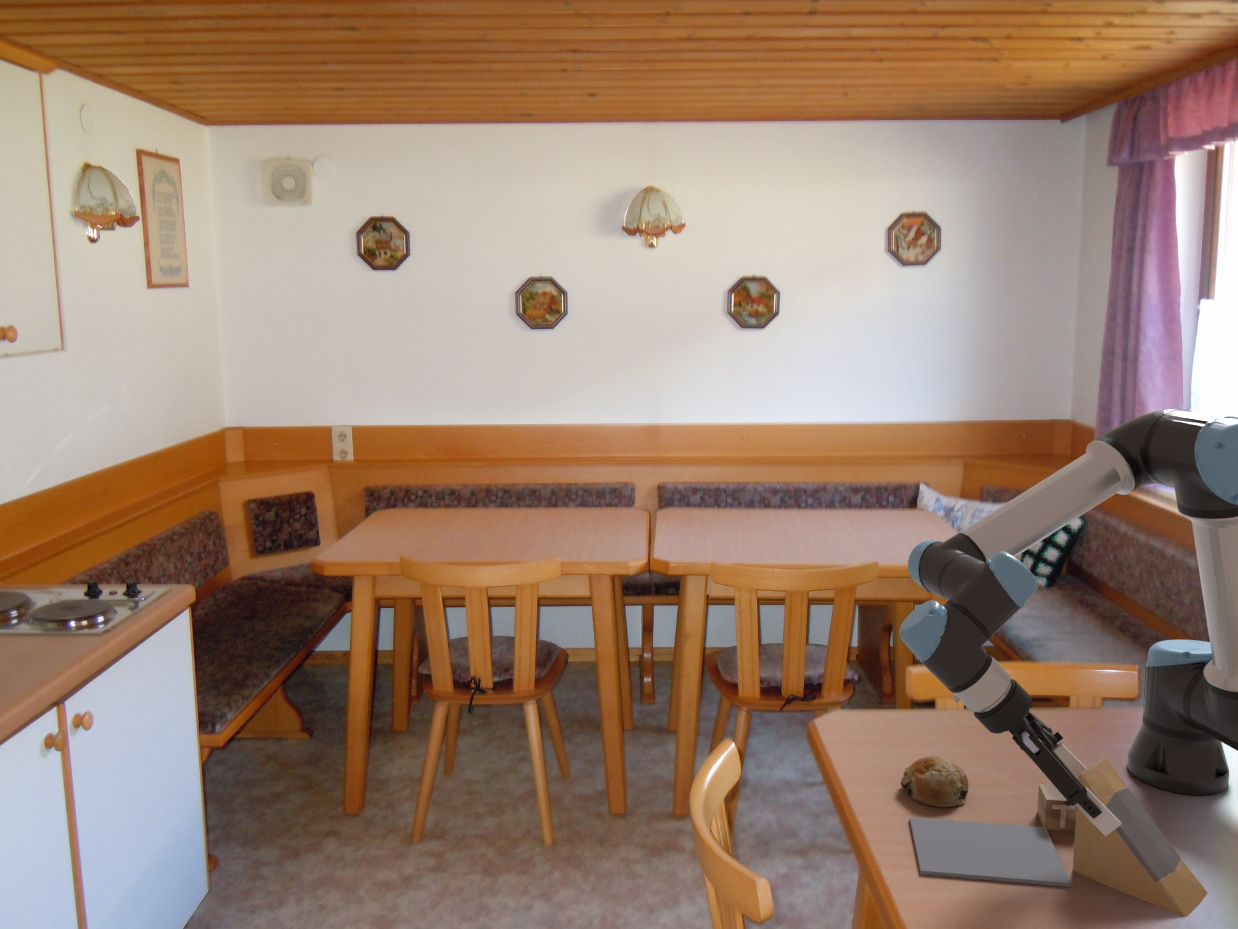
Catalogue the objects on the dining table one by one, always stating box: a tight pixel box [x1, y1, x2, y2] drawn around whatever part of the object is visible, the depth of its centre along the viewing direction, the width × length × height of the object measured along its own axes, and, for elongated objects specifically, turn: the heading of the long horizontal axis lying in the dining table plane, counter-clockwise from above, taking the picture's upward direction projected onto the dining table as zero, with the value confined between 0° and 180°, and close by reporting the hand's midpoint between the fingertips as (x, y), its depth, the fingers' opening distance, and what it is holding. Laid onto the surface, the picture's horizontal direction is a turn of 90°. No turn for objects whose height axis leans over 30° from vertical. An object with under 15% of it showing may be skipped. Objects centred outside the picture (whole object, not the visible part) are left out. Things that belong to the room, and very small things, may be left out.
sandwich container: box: [1072, 756, 1208, 918], centre depth 142 cm, size 9×15×15 cm, turn 42°
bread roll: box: [900, 755, 970, 808], centre depth 168 cm, size 10×10×8 cm
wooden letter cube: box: [1036, 783, 1077, 833], centre depth 159 cm, size 5×5×5 cm
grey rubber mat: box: [909, 816, 1072, 888], centre depth 151 cm, size 20×15×1 cm
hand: (1098, 804), depth 144 cm, fingers open, 13 cm apart
